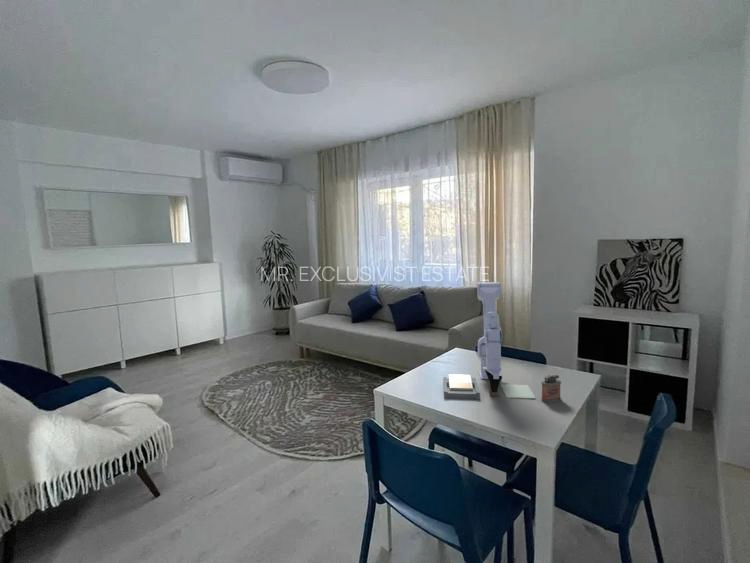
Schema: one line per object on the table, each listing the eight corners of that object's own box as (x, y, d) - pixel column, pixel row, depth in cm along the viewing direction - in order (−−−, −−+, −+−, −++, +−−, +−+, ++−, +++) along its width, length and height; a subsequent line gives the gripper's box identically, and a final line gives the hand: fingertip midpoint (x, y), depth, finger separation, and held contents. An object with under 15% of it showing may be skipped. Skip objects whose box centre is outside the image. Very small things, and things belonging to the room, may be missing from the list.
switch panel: (443, 382, 165) (443, 374, 164) (475, 383, 162) (475, 375, 162) (444, 397, 149) (444, 388, 148) (479, 398, 147) (479, 389, 146)
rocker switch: (448, 375, 160) (448, 374, 160) (470, 376, 159) (470, 374, 159) (449, 389, 152) (449, 387, 151) (472, 390, 150) (472, 388, 150)
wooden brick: (488, 392, 152) (488, 376, 152) (496, 392, 152) (496, 376, 151) (490, 395, 149) (489, 379, 148) (498, 396, 149) (498, 379, 148)
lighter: (545, 403, 140) (545, 378, 139) (539, 399, 144) (539, 375, 143) (562, 400, 143) (563, 375, 142) (556, 396, 146) (556, 372, 145)
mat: (500, 385, 159) (500, 384, 159) (527, 386, 157) (527, 385, 157) (506, 398, 146) (506, 396, 146) (535, 399, 145) (535, 397, 144)
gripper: (480, 352, 157) (481, 382, 158) (485, 363, 142) (485, 396, 144) (498, 352, 155) (498, 383, 157) (504, 363, 141) (504, 397, 143)
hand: (493, 389), depth 150 cm, fingers open, 4 cm apart
